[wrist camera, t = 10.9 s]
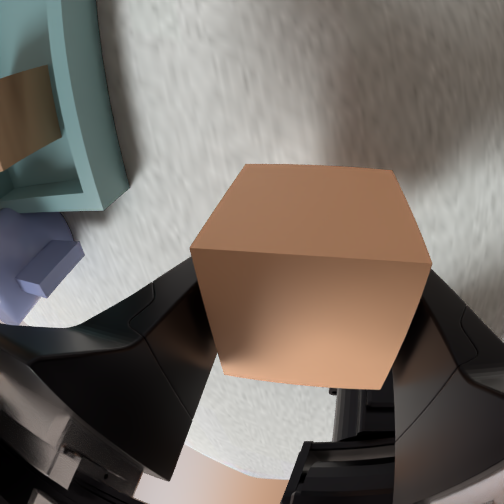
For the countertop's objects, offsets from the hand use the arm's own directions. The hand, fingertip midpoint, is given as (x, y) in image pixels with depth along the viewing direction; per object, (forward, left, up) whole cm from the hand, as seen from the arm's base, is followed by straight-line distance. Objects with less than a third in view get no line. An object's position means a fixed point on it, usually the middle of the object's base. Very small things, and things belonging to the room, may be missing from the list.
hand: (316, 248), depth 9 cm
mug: (-3, +18, -5) cm, 19 cm away
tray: (+9, +16, -5) cm, 19 cm away
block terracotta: (0, 0, -1) cm, 1 cm away
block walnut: (+6, +16, -4) cm, 17 cm away
